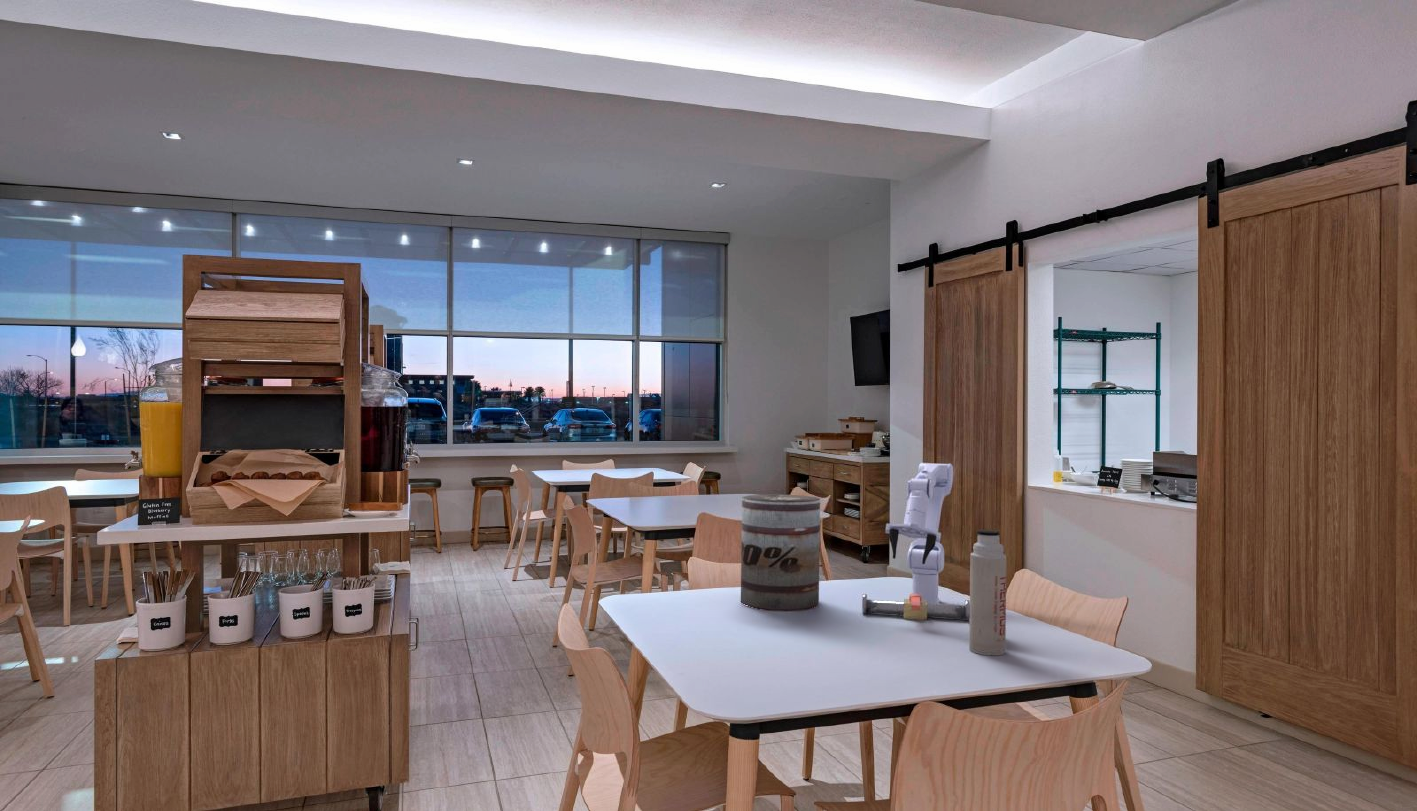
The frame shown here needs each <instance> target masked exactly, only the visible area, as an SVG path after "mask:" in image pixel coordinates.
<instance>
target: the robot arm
mask: <svg viewBox="0 0 1417 811" xmlns="http://www.w3.org/2000/svg"><path fill="white" fill-rule="evenodd" d="M953 482H954V467H953V465H952V463H931V462H929V463H928V462H920V463H919V465H918V470H917V475H916V476H915V477H914V478H913V477H912V478H911V479H908V481H907V485H906V507H905V511H904V512H905V514H904V519H903V523H886V524H885V532H884V533H885V534H888V539H889V542H890V544H891V550H892V559H893V560H894V559H896V558H897V548H898V541H899V535H902V536H905V537H908V538H912V539H916V540H913V541H912V542H911V543H910V546H909V549H908V551H907V555H906V564H907V568H908V569H909V570H910V572H911V573H912V594H919V595H922V597H921V600H927V603H933V604H941V603H940V598H939V573H942V572H943V570H944V567H945V549H944V546H943V544H942V543H941V539H942V538H941V537H942V532H939V527H940V520H941V514H942V513H941V512H942V506H943V503H944V499H945V497H946V496H948V495H950V494H951V492H952V491H951V490H952V488H953V487H952V486H953Z"/></svg>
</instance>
